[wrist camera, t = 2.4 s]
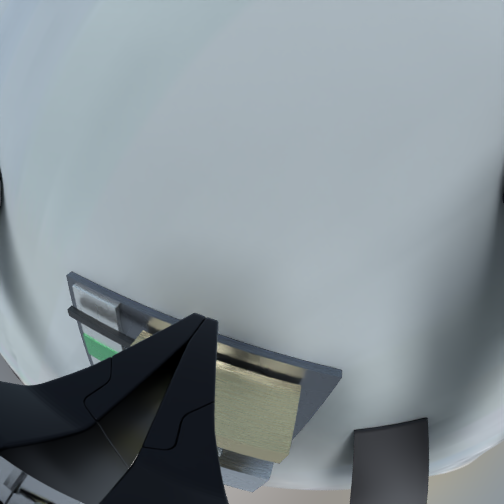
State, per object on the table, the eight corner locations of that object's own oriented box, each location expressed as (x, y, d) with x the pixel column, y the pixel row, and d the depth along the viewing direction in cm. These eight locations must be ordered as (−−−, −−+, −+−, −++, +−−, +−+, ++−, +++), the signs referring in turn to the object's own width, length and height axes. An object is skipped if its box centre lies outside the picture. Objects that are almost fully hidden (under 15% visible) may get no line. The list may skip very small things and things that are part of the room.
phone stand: (411, 456, 18) (408, 555, 8) (355, 464, 20) (341, 563, 10) (427, 416, 15) (432, 553, 4) (354, 428, 17) (337, 567, 6)
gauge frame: (341, 370, 14) (338, 437, 10) (272, 457, 22) (261, 495, 18) (71, 271, 17) (28, 305, 13) (105, 390, 24) (84, 419, 20)
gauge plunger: (301, 385, 14) (288, 454, 10) (268, 436, 18) (254, 485, 14) (75, 296, 16) (32, 333, 12) (94, 363, 20) (65, 397, 16)
